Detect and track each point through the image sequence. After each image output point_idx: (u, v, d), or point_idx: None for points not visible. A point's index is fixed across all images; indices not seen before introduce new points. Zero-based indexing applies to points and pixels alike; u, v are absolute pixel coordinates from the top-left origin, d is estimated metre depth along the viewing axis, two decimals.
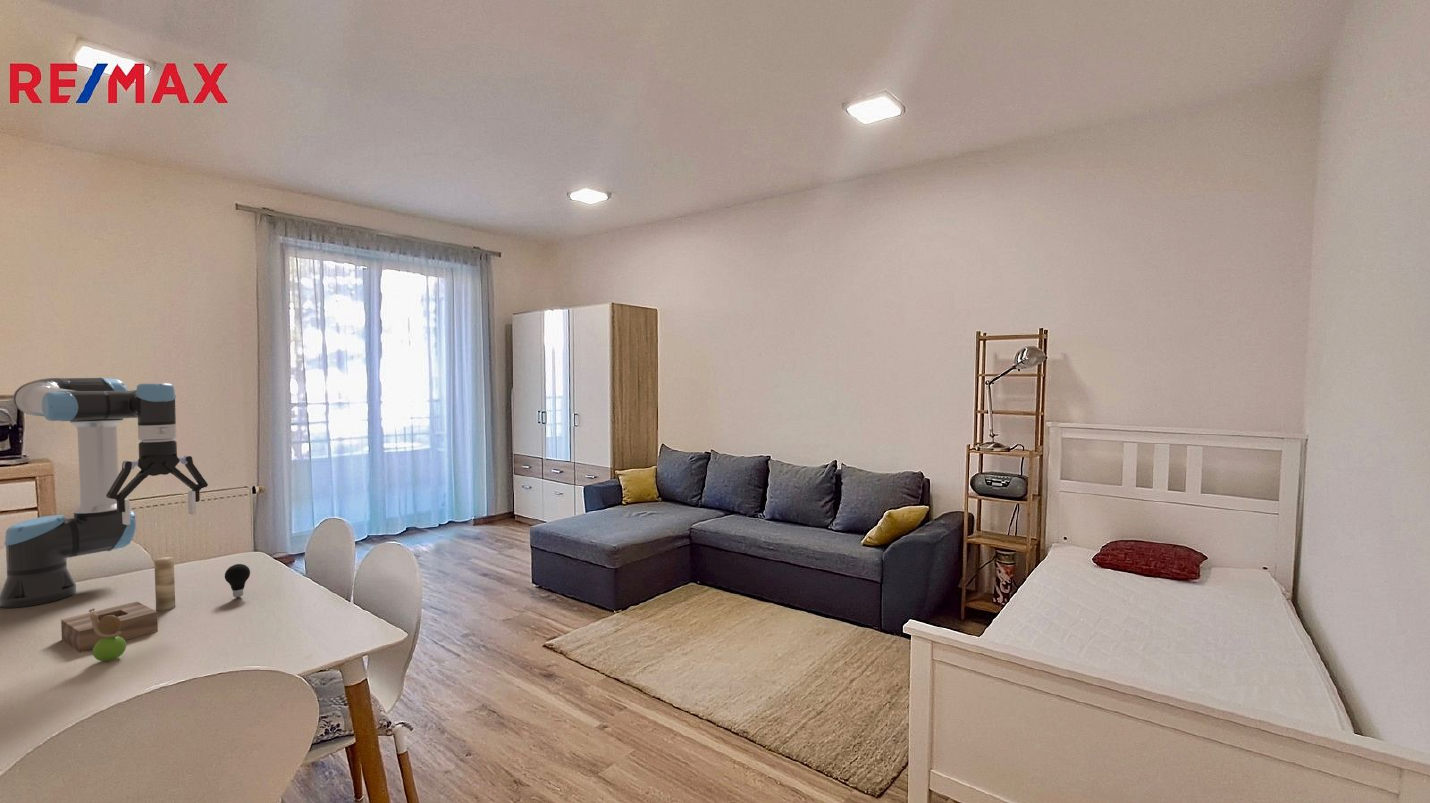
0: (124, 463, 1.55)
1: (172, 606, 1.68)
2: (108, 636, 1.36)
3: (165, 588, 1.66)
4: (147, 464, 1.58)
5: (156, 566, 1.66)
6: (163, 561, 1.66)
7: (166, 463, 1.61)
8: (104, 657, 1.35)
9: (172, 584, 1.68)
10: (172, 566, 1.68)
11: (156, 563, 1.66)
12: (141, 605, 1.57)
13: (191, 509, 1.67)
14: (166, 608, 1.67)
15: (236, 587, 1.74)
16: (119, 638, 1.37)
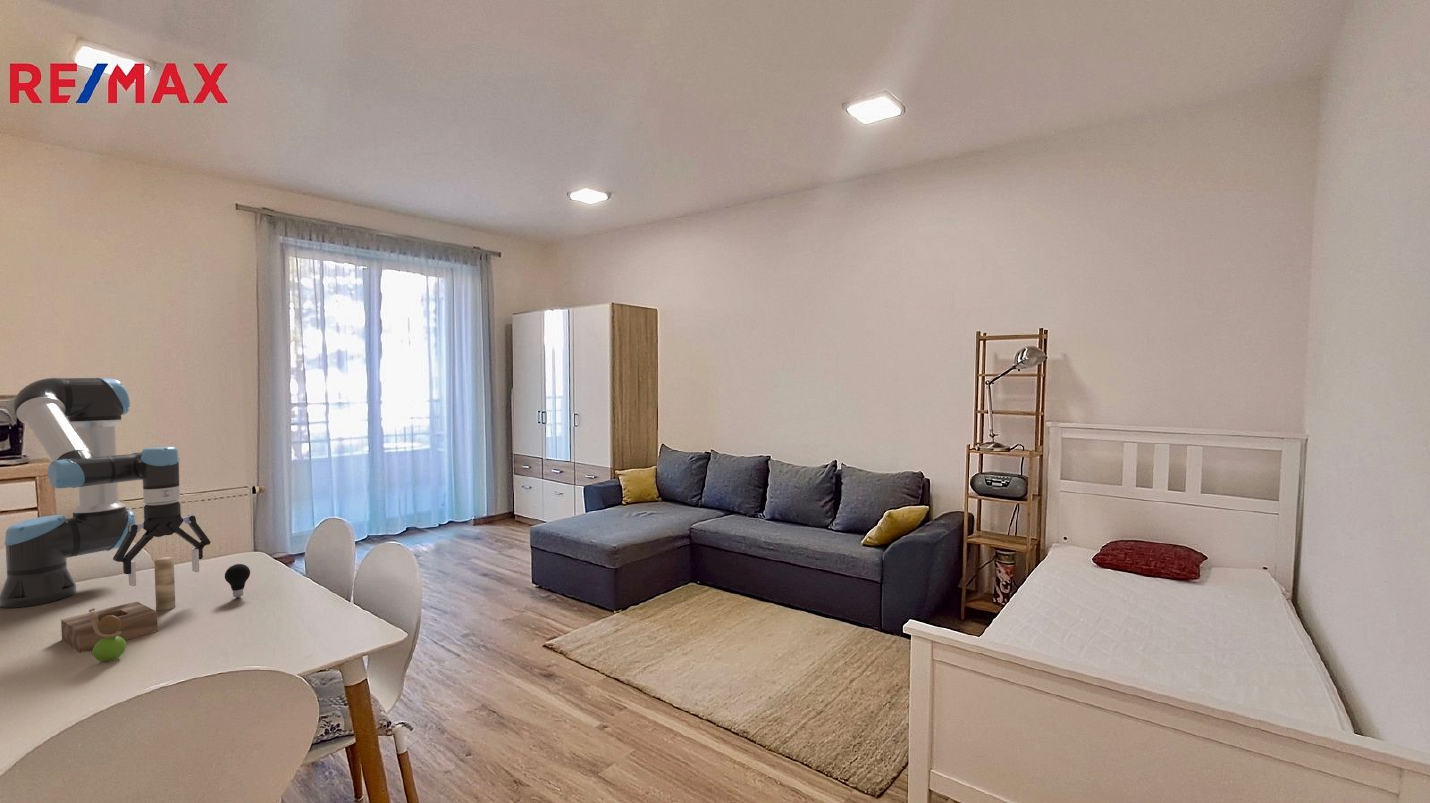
0: (130, 526, 1.61)
1: (172, 606, 1.68)
2: (108, 636, 1.36)
3: (165, 588, 1.66)
4: (152, 526, 1.64)
5: (156, 566, 1.66)
6: (163, 561, 1.66)
7: (170, 524, 1.67)
8: (104, 657, 1.35)
9: (172, 584, 1.68)
10: (172, 566, 1.68)
11: (156, 563, 1.66)
12: (141, 605, 1.57)
13: (195, 566, 1.73)
14: (166, 608, 1.67)
15: (236, 587, 1.74)
16: (119, 638, 1.37)
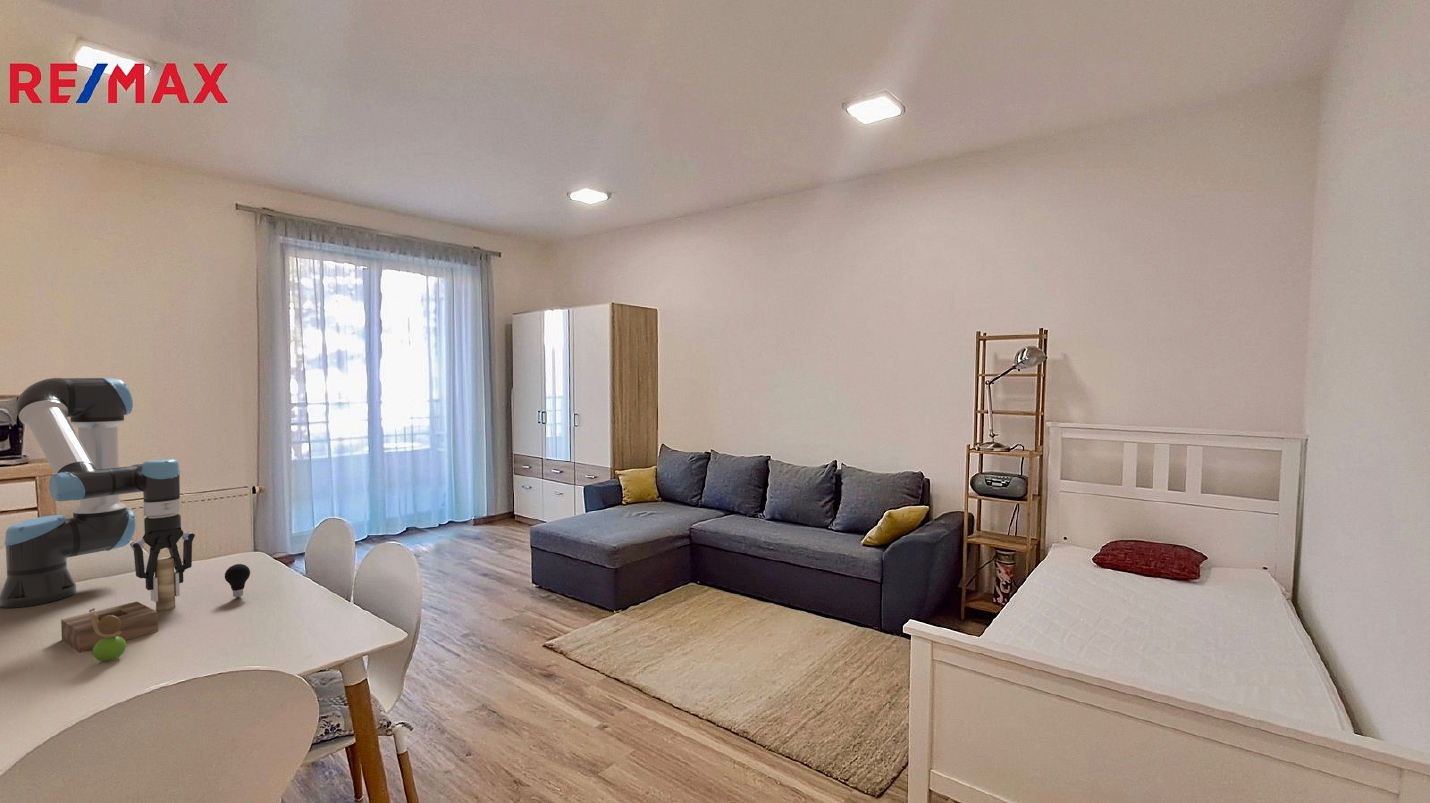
0: (132, 546, 1.62)
1: (172, 606, 1.68)
2: (108, 636, 1.36)
3: (165, 588, 1.66)
4: (153, 538, 1.65)
5: (156, 566, 1.66)
6: (163, 561, 1.66)
7: (171, 536, 1.67)
8: (104, 657, 1.35)
9: (173, 584, 1.68)
10: (172, 566, 1.68)
11: None
12: (141, 605, 1.57)
13: (175, 591, 1.69)
14: (166, 608, 1.67)
15: (236, 587, 1.74)
16: (119, 638, 1.37)
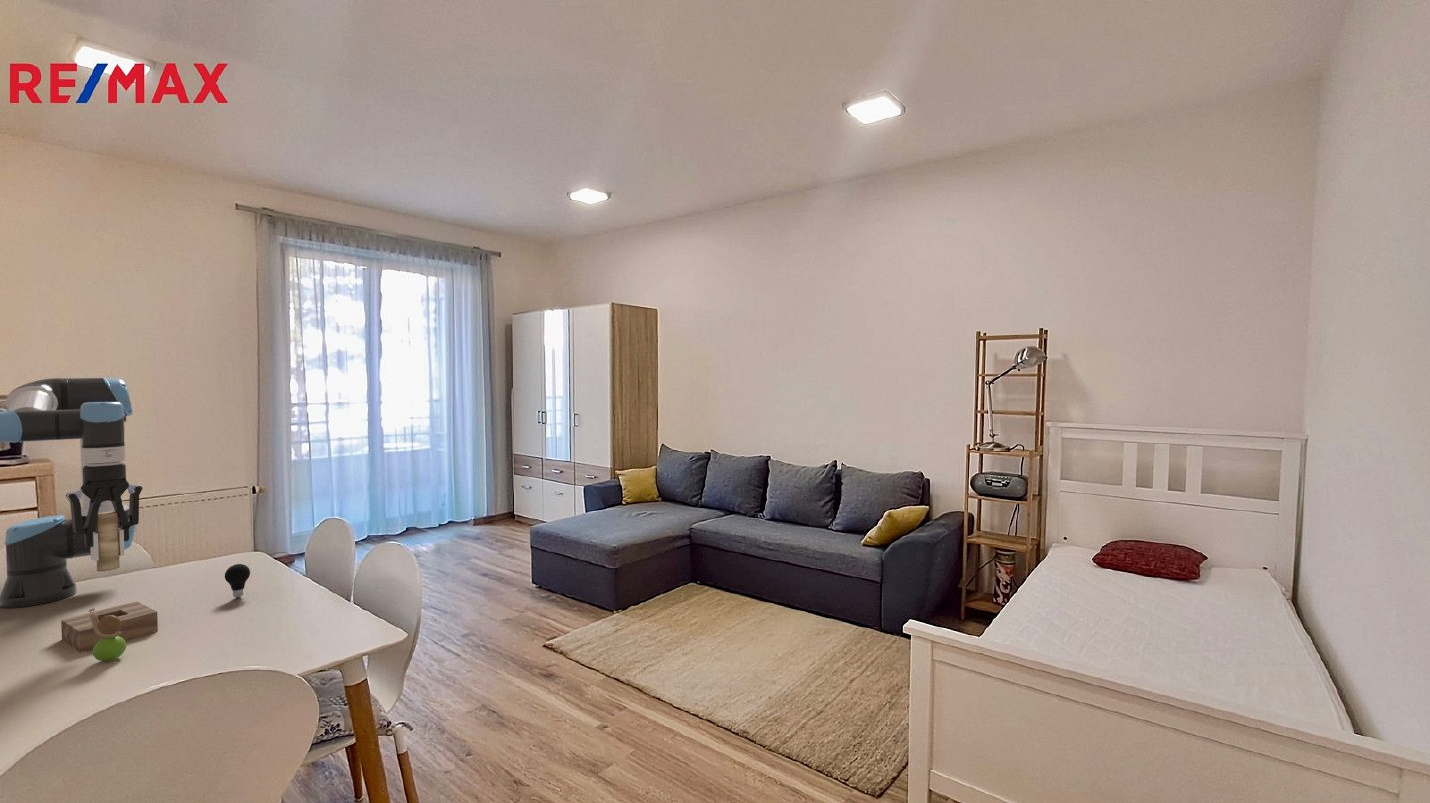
0: (67, 497, 1.43)
1: (115, 566, 1.50)
2: (108, 636, 1.36)
3: (107, 546, 1.48)
4: (92, 489, 1.46)
5: (97, 521, 1.47)
6: (105, 515, 1.48)
7: (114, 488, 1.49)
8: (104, 657, 1.35)
9: (116, 541, 1.50)
10: (115, 521, 1.50)
11: (97, 517, 1.47)
12: (141, 605, 1.57)
13: (119, 549, 1.51)
14: (108, 568, 1.48)
15: (236, 587, 1.74)
16: (119, 638, 1.37)
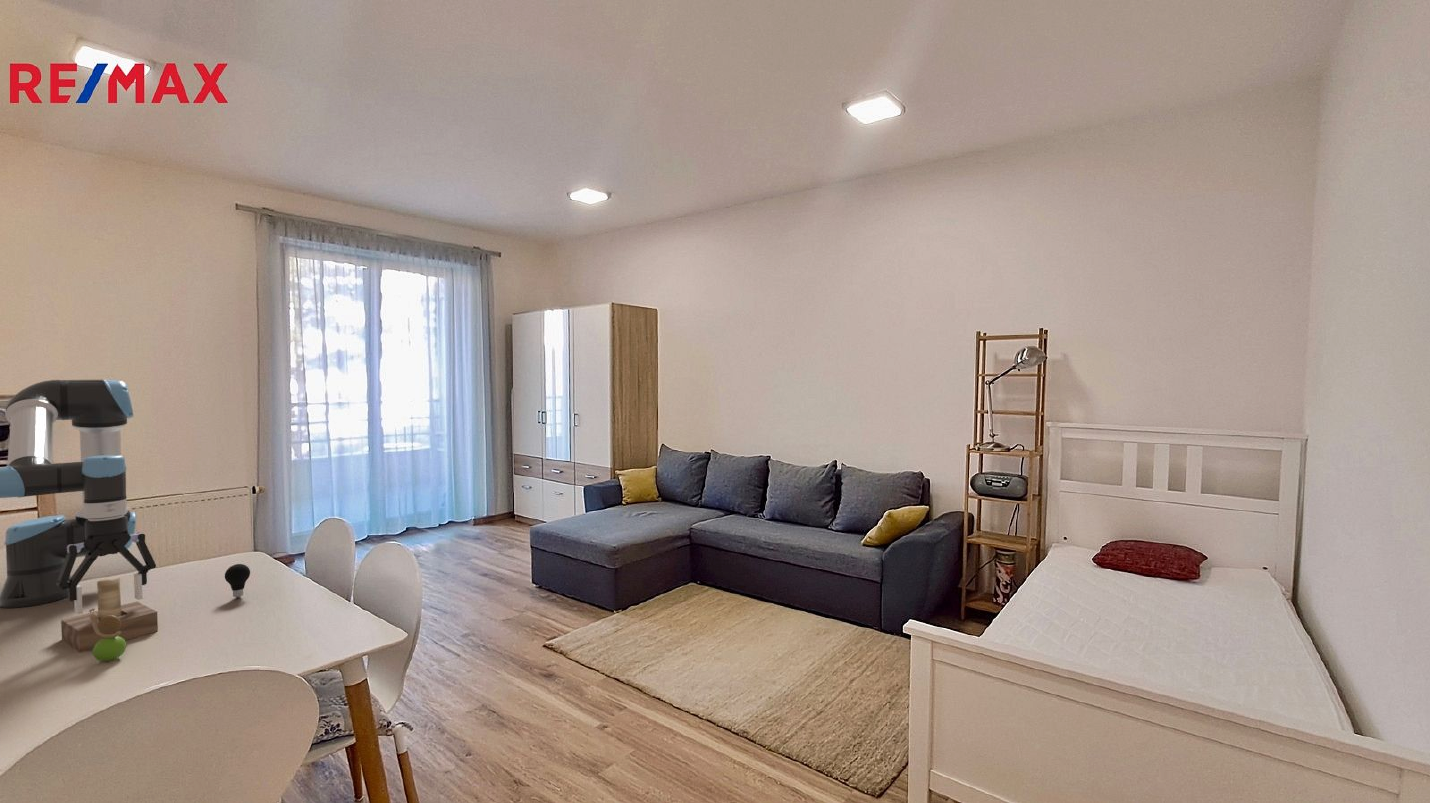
0: (67, 547, 1.44)
1: None
2: (108, 636, 1.36)
3: (109, 613, 1.49)
4: (94, 544, 1.47)
5: (99, 588, 1.48)
6: (107, 583, 1.48)
7: (115, 541, 1.50)
8: (104, 657, 1.35)
9: (118, 608, 1.50)
10: (118, 588, 1.50)
11: (99, 585, 1.48)
12: (141, 605, 1.57)
13: (137, 593, 1.54)
14: None
15: (236, 587, 1.74)
16: (119, 638, 1.37)
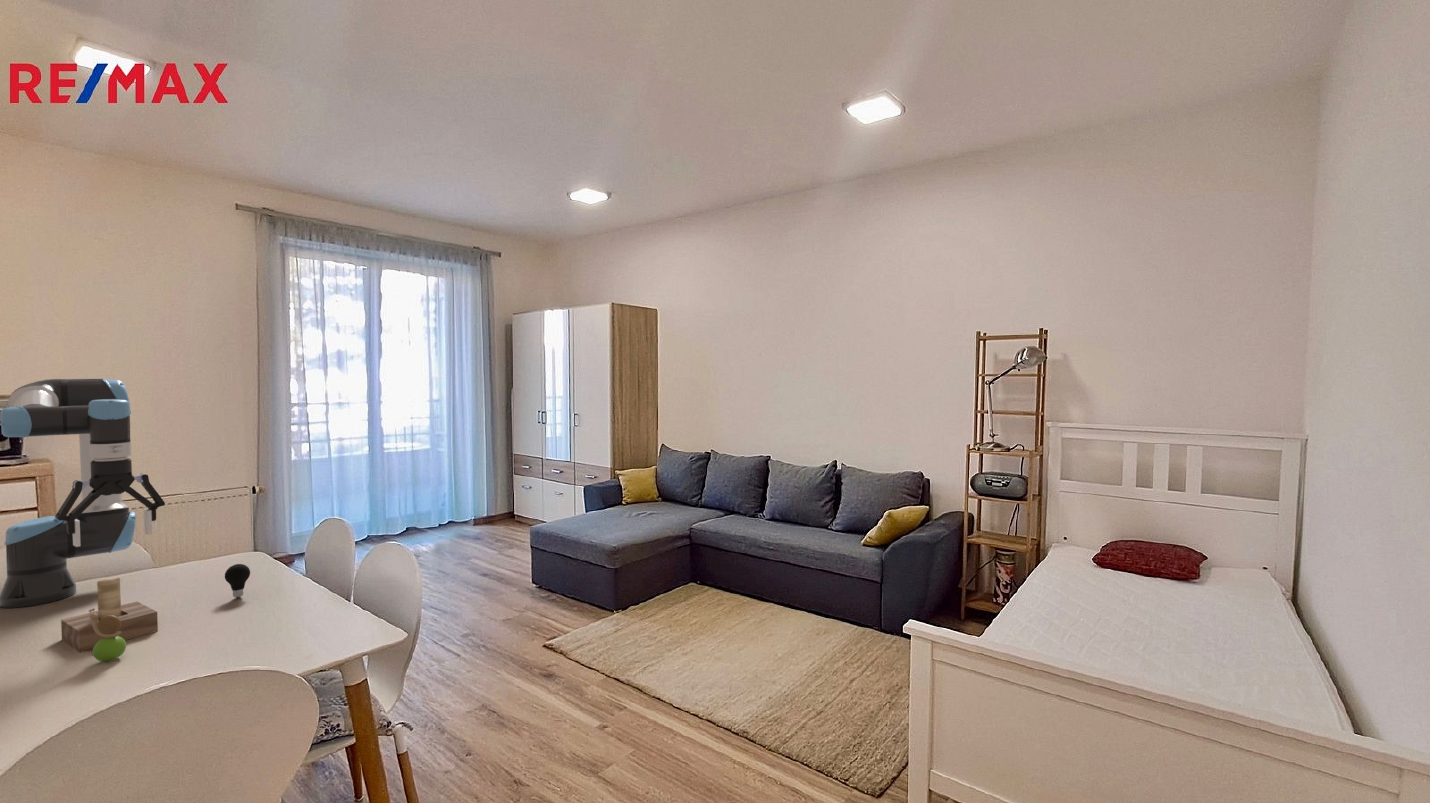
0: (74, 483, 1.50)
1: None
2: (108, 636, 1.36)
3: (109, 613, 1.49)
4: (99, 484, 1.53)
5: (99, 588, 1.48)
6: (107, 583, 1.48)
7: (120, 482, 1.56)
8: (104, 657, 1.35)
9: (118, 608, 1.50)
10: (118, 588, 1.50)
11: (99, 585, 1.48)
12: (141, 605, 1.57)
13: (147, 529, 1.62)
14: None
15: (236, 587, 1.74)
16: (119, 638, 1.37)
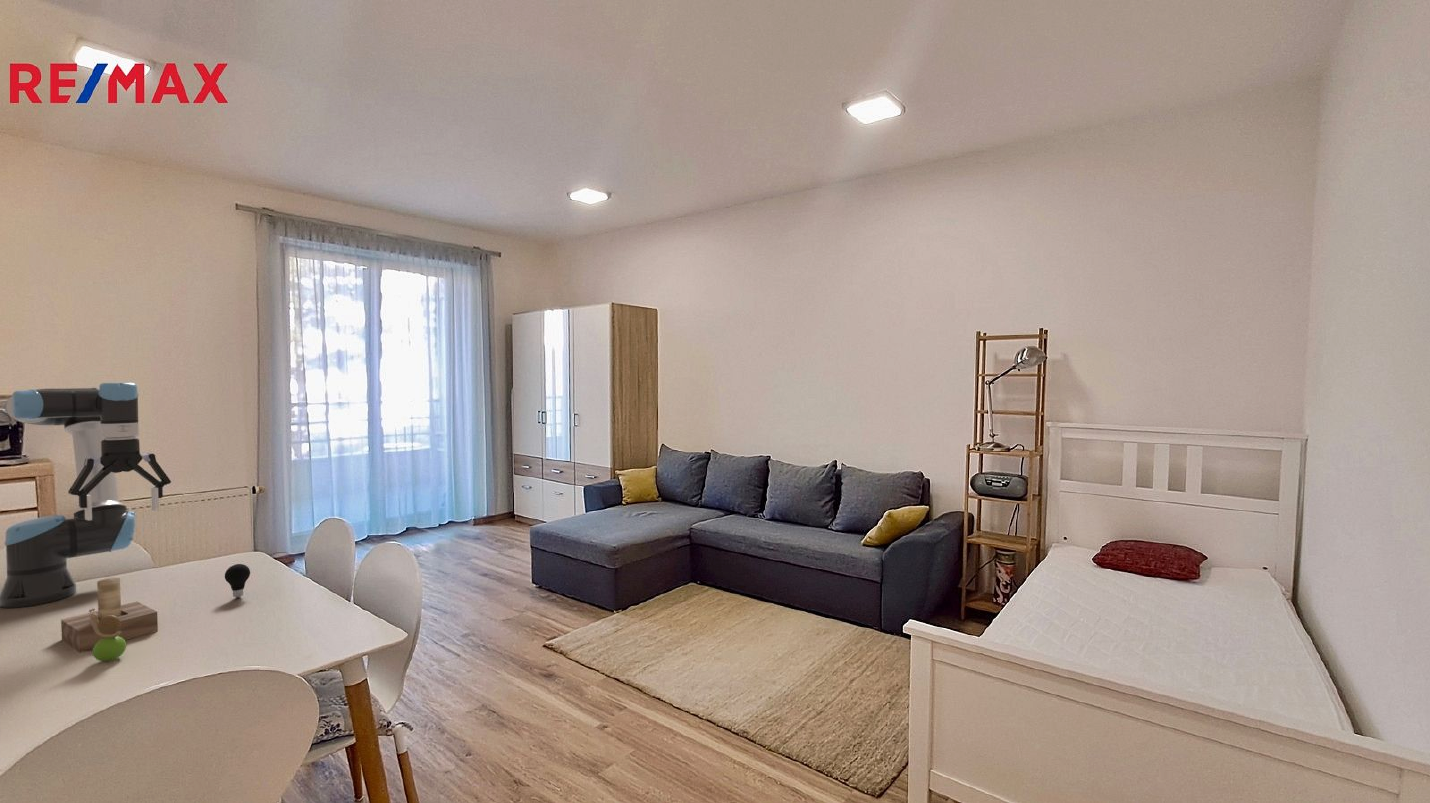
0: (86, 460, 1.60)
1: None
2: (108, 636, 1.36)
3: (109, 613, 1.49)
4: (109, 461, 1.63)
5: (99, 588, 1.48)
6: (107, 583, 1.48)
7: (128, 460, 1.65)
8: (104, 657, 1.35)
9: (118, 608, 1.50)
10: (118, 588, 1.50)
11: (99, 585, 1.48)
12: (141, 605, 1.57)
13: (154, 505, 1.71)
14: None
15: (236, 587, 1.74)
16: (119, 638, 1.37)
